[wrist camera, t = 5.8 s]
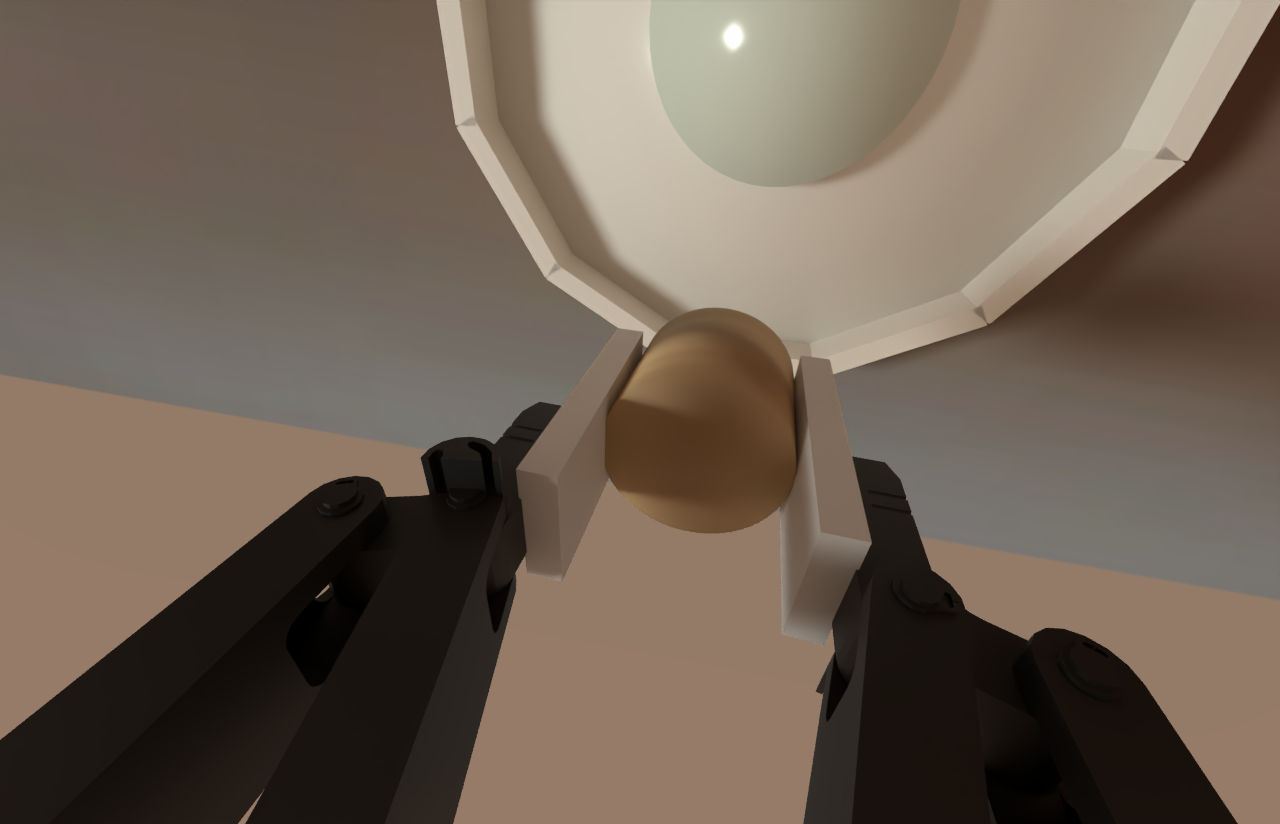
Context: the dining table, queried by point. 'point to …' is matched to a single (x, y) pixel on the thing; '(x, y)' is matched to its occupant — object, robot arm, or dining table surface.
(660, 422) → the bead
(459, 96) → the platter
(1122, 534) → the dining table surface
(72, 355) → the dining table surface
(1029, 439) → the dining table surface
